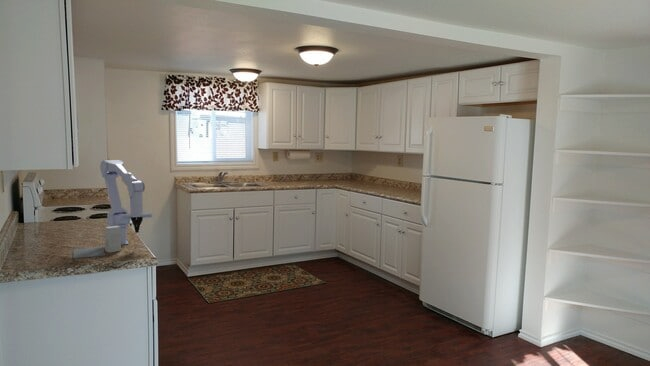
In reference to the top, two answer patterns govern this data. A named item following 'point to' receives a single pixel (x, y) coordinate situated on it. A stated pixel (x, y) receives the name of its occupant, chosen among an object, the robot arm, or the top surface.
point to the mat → (88, 252)
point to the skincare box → (112, 239)
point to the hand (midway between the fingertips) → (136, 232)
